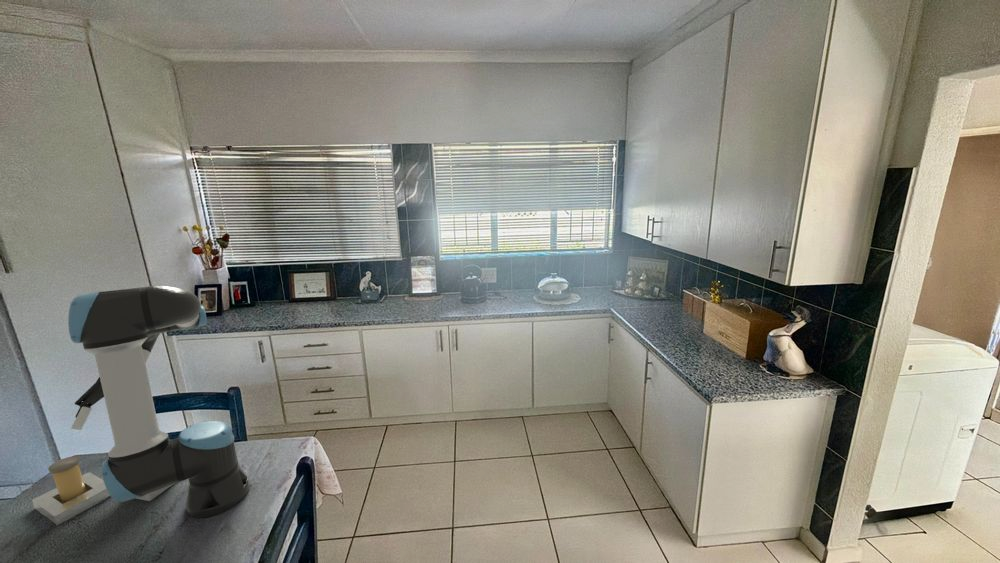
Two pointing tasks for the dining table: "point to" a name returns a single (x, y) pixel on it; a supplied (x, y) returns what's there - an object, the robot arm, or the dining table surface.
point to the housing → (60, 512)
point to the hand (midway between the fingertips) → (99, 428)
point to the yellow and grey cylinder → (68, 478)
